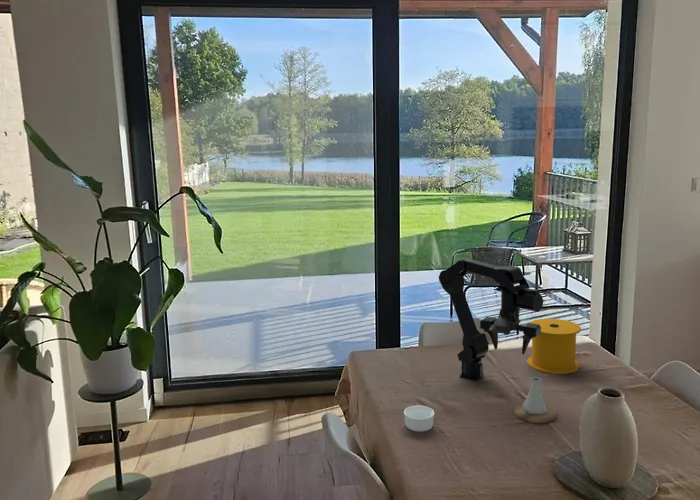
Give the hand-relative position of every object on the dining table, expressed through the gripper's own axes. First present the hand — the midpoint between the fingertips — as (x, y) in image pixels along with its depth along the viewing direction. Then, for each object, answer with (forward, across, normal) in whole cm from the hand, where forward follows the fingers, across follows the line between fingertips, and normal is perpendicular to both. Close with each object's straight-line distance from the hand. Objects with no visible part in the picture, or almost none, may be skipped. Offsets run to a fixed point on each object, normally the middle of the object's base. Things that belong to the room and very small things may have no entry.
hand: (509, 351), depth 190 cm
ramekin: (+13, -13, -38) cm, 42 cm away
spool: (+13, +6, +29) cm, 32 cm away
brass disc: (+13, +13, -14) cm, 23 cm away
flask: (+12, +13, -13) cm, 22 cm away
